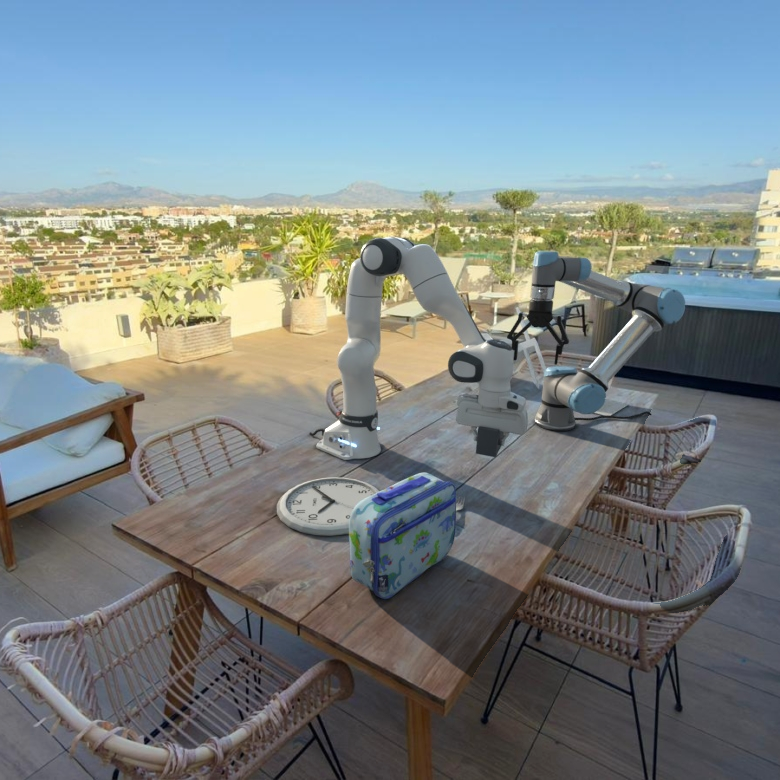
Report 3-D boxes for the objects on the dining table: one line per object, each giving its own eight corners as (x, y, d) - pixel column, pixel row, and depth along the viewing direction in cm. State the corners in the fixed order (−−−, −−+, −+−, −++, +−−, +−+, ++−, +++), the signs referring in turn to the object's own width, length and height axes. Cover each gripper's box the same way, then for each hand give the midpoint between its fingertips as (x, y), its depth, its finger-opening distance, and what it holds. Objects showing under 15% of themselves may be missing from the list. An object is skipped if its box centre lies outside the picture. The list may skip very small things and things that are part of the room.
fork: (441, 530, 132) (442, 523, 131) (456, 501, 146) (456, 494, 145) (451, 532, 131) (452, 525, 130) (465, 502, 145) (465, 496, 144)
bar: (493, 423, 174) (496, 401, 172) (511, 426, 172) (513, 404, 170) (475, 453, 151) (478, 428, 148) (495, 457, 149) (498, 431, 146)
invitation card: (608, 416, 214) (573, 407, 224) (608, 416, 214) (573, 408, 224) (628, 404, 229) (594, 396, 238) (628, 405, 229) (594, 397, 238)
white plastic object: (486, 418, 267) (465, 395, 242) (467, 346, 289) (447, 318, 264) (556, 394, 255) (543, 367, 230) (531, 321, 277) (516, 289, 252)
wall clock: (392, 527, 129) (268, 531, 127) (391, 533, 130) (269, 537, 127) (383, 473, 158) (282, 475, 155) (383, 478, 158) (282, 480, 156)
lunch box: (377, 612, 103) (378, 518, 97) (342, 586, 111) (341, 497, 104) (459, 557, 121) (465, 475, 115) (425, 538, 128) (428, 460, 122)
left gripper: (455, 395, 149) (451, 440, 153) (528, 406, 142) (522, 453, 146) (460, 389, 154) (457, 432, 158) (531, 399, 147) (525, 445, 151)
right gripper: (501, 298, 174) (496, 360, 180) (580, 303, 165) (572, 368, 172) (505, 295, 181) (500, 355, 187) (582, 300, 172) (574, 363, 178)
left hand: (489, 442), depth 152 cm, fingers closed on bar, 6 cm apart
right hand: (535, 361), depth 179 cm, fingers open, 13 cm apart
